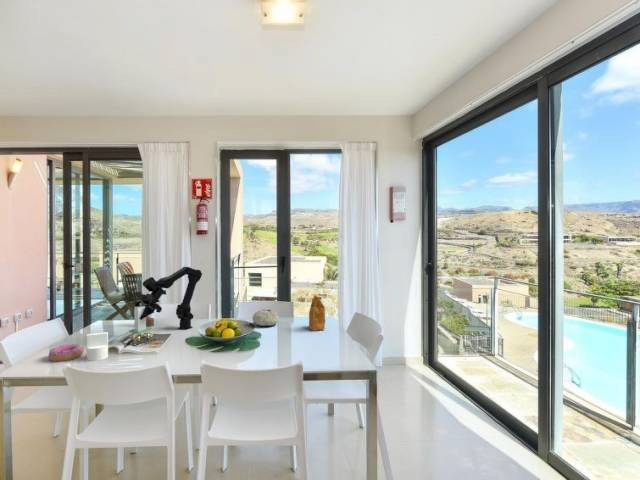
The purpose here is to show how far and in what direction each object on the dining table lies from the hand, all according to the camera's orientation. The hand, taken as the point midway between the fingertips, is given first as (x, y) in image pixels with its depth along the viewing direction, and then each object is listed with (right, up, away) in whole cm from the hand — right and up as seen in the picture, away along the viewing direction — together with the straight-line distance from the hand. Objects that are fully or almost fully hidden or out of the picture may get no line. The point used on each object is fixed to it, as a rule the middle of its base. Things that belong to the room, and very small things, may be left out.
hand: (138, 318), depth 202 cm
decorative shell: (+66, -13, +41) cm, 79 cm away
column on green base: (+1, -7, +1) cm, 8 cm away
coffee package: (+101, -14, +32) cm, 107 cm away
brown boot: (-13, -13, +37) cm, 41 cm away
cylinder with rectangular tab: (-8, -14, -25) cm, 29 cm away
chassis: (0, -13, +2) cm, 14 cm away
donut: (-23, -14, -24) cm, 37 cm away
